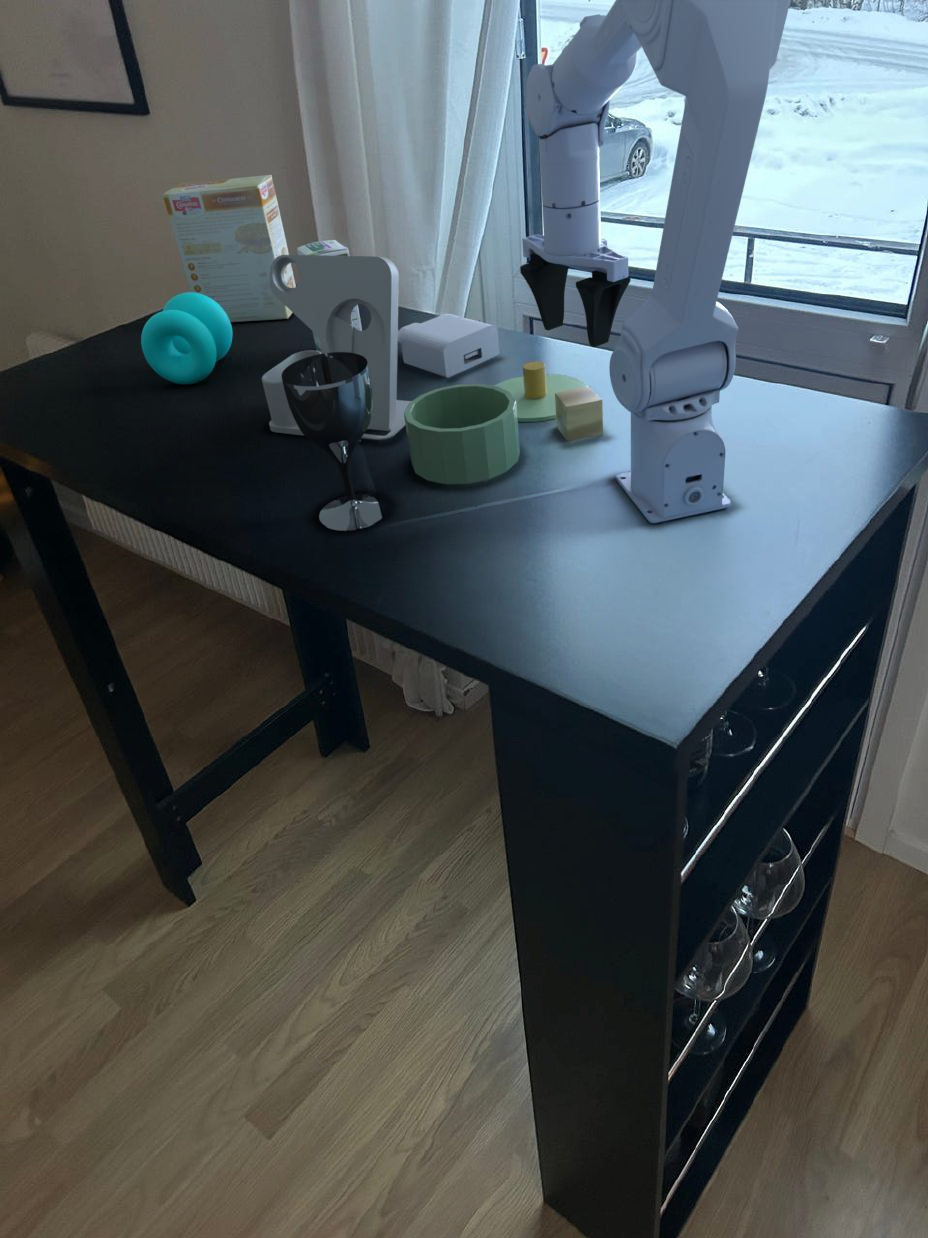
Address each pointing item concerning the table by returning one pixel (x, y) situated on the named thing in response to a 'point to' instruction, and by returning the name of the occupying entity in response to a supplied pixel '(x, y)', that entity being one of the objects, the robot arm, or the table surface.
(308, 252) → the syrup box
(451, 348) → the charger
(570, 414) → the block
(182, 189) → the coffeecake box
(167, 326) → the turquoise yo-yo
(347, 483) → the wine glass
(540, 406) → the lid
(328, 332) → the phone holder
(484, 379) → the table surface
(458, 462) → the tin
